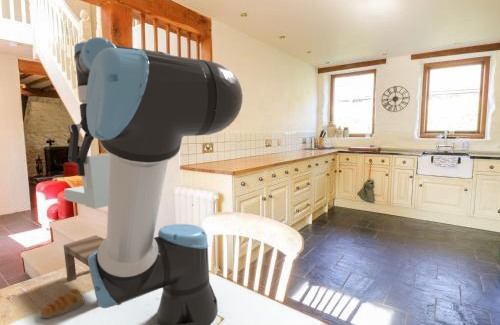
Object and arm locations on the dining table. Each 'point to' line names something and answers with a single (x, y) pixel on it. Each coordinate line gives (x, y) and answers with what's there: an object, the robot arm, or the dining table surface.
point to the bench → (80, 253)
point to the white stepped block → (93, 184)
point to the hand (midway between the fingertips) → (103, 184)
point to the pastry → (63, 304)
